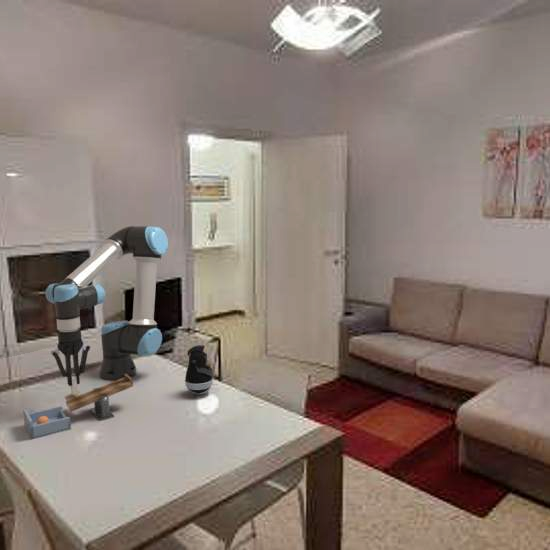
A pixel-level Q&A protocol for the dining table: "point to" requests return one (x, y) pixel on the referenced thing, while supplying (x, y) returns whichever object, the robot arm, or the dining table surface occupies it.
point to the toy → (198, 371)
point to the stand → (102, 408)
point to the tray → (55, 424)
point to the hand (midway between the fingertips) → (74, 393)
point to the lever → (97, 393)
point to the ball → (42, 420)
